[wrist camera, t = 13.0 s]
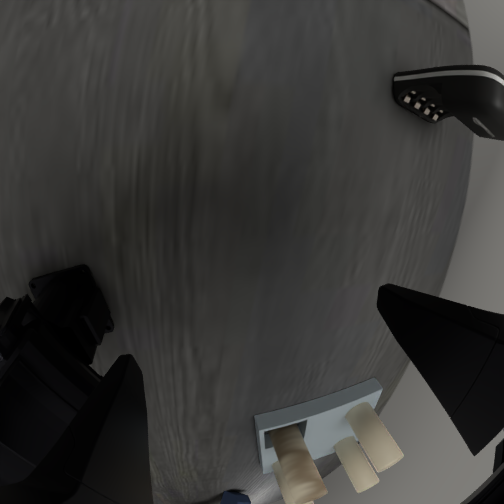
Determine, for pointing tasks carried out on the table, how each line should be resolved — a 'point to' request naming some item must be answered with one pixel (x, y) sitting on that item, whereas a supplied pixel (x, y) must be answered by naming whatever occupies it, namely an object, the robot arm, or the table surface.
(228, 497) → the glue gun
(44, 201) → the table surface
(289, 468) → the loose leg
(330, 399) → the stool seat
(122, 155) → the table surface
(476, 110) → the battery charger
